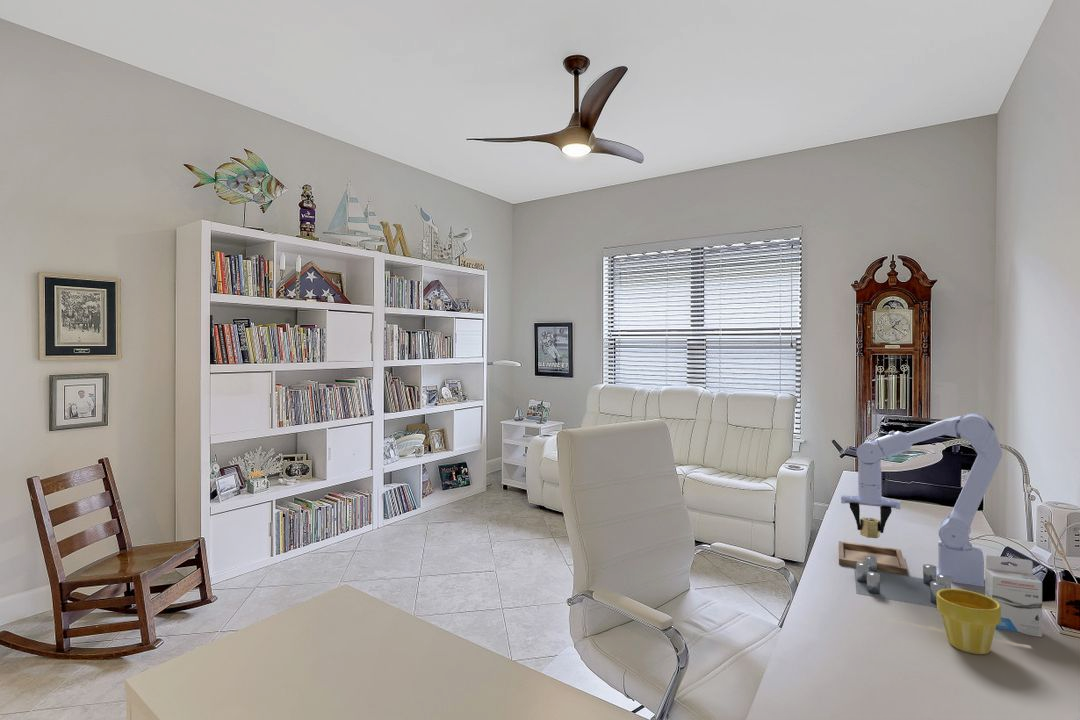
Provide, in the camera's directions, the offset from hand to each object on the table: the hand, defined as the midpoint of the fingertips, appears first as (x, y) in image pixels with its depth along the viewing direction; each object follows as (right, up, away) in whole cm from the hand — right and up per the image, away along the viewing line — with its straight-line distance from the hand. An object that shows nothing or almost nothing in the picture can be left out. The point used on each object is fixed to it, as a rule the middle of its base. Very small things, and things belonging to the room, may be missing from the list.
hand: (870, 530), depth 155 cm
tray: (0, -9, 0) cm, 9 cm away
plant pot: (-7, -10, -45) cm, 46 cm away
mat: (-3, -9, -19) cm, 21 cm away
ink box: (+8, -9, -38) cm, 40 cm away
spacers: (-3, -9, -19) cm, 21 cm away
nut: (0, -1, 0) cm, 1 cm away
